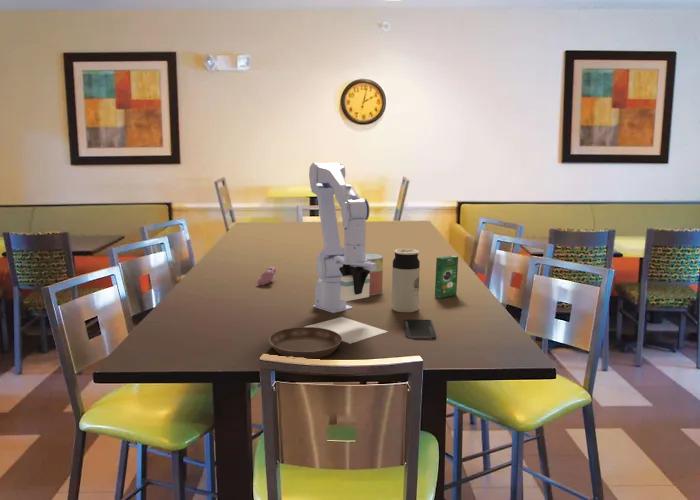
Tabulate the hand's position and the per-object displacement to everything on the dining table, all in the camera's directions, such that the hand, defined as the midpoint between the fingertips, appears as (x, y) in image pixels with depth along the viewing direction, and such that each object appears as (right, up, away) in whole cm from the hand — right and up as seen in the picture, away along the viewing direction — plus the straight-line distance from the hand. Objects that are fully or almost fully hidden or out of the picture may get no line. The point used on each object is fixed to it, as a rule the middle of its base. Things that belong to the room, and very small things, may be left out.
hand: (354, 292), depth 171 cm
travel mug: (+15, -6, +17) cm, 23 cm away
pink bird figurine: (-30, 0, +49) cm, 58 cm away
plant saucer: (-12, -13, -18) cm, 25 cm away
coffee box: (+30, -4, +33) cm, 45 cm away
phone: (+17, -10, -3) cm, 20 cm away
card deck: (0, -2, 0) cm, 2 cm away
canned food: (+4, -2, +39) cm, 39 cm away
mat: (-2, -10, -4) cm, 11 cm away
